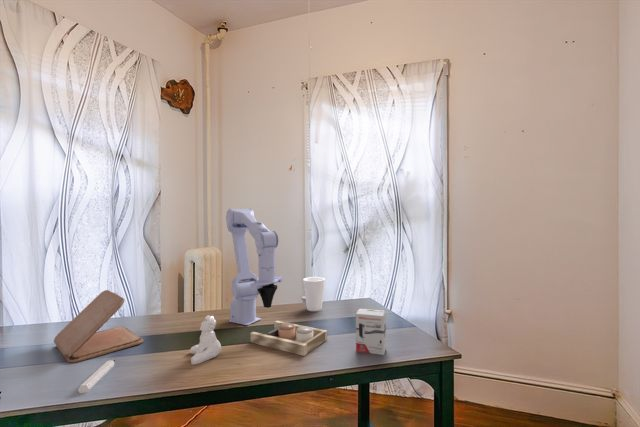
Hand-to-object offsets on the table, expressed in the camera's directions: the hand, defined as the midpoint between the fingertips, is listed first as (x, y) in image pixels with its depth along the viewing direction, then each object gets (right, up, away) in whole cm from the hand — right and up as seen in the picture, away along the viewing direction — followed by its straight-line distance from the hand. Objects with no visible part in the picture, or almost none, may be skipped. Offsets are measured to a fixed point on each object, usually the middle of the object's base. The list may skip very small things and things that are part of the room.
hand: (267, 307), depth 113 cm
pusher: (+3, -10, -2) cm, 10 cm away
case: (-53, -11, -6) cm, 55 cm away
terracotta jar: (+7, -10, -4) cm, 13 cm away
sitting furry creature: (-16, -10, -15) cm, 24 cm away
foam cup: (+15, -10, +30) cm, 36 cm away
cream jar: (+13, -10, -7) cm, 18 cm away
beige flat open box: (+8, -10, -4) cm, 13 cm away
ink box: (+33, -10, -12) cm, 37 cm away
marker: (-39, -11, -26) cm, 49 cm away
